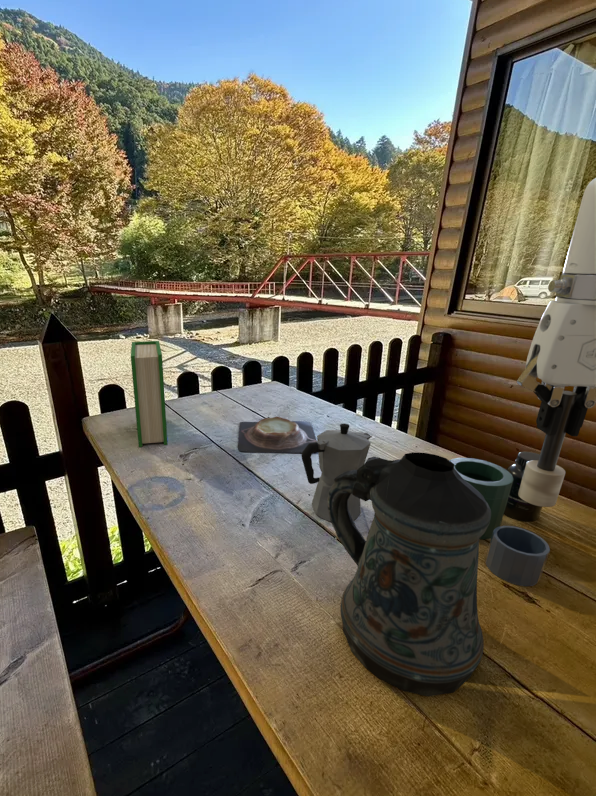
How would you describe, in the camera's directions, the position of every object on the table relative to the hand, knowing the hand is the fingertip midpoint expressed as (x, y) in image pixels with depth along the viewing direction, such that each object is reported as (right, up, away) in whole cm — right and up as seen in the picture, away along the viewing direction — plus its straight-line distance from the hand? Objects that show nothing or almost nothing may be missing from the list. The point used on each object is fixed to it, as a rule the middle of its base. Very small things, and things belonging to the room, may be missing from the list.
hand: (556, 431), depth 55 cm
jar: (-1, -18, +20) cm, 27 cm away
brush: (0, -10, +4) cm, 11 cm away
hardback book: (-65, -3, +59) cm, 88 cm away
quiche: (-31, -4, +57) cm, 65 cm away
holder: (0, -22, +8) cm, 24 cm away
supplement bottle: (+11, -17, +23) cm, 30 cm away
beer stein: (-23, -27, -2) cm, 35 cm away
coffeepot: (-24, -17, +24) cm, 38 cm away
